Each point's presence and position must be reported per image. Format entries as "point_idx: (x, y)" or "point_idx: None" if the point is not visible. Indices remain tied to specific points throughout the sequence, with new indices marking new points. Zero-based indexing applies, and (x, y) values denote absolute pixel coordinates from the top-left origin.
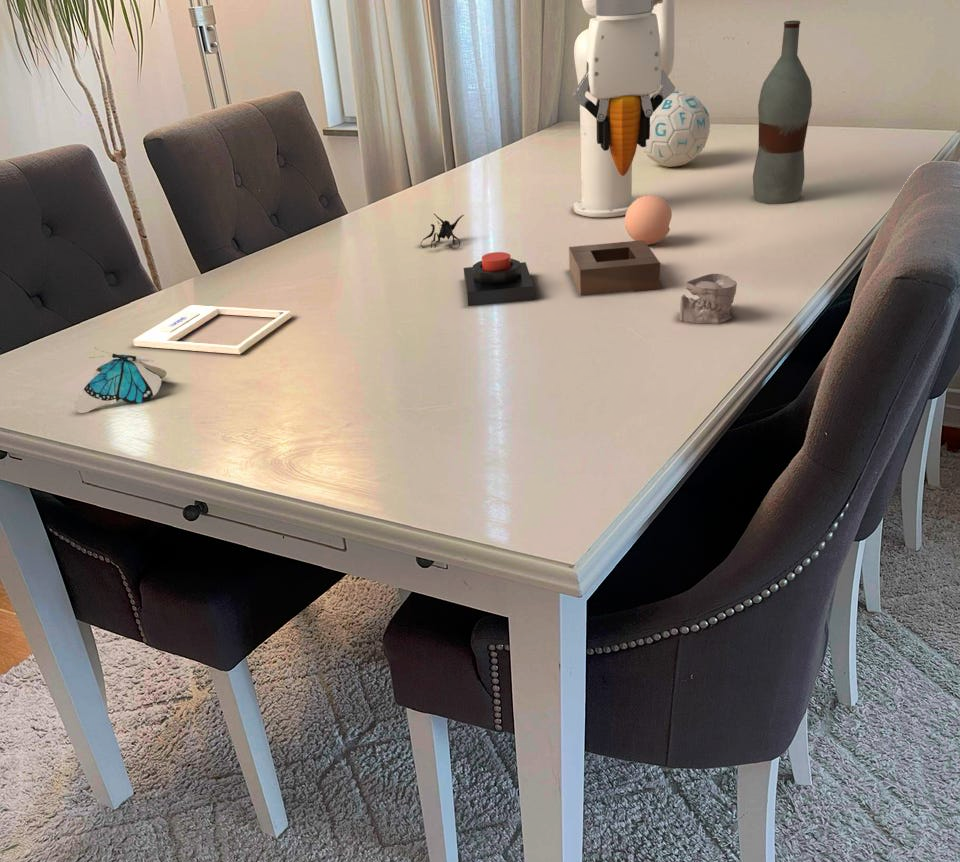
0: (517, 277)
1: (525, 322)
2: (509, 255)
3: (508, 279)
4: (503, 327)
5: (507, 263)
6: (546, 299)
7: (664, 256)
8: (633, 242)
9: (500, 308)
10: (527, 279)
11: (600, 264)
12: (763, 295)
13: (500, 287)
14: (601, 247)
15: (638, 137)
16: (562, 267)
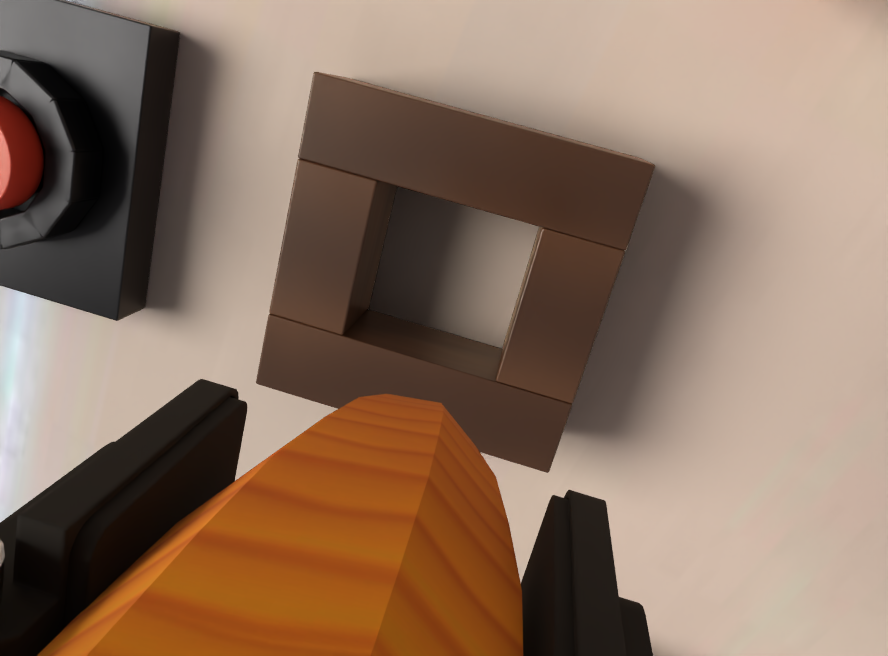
0: (75, 223)
1: (84, 457)
2: (7, 173)
3: (37, 241)
4: (22, 457)
5: (9, 203)
6: (184, 318)
7: (783, 97)
8: (593, 175)
9: (36, 315)
10: (112, 242)
11: (344, 368)
12: (796, 644)
13: (12, 271)
14: (436, 163)
15: (527, 597)
16: (339, 4)
